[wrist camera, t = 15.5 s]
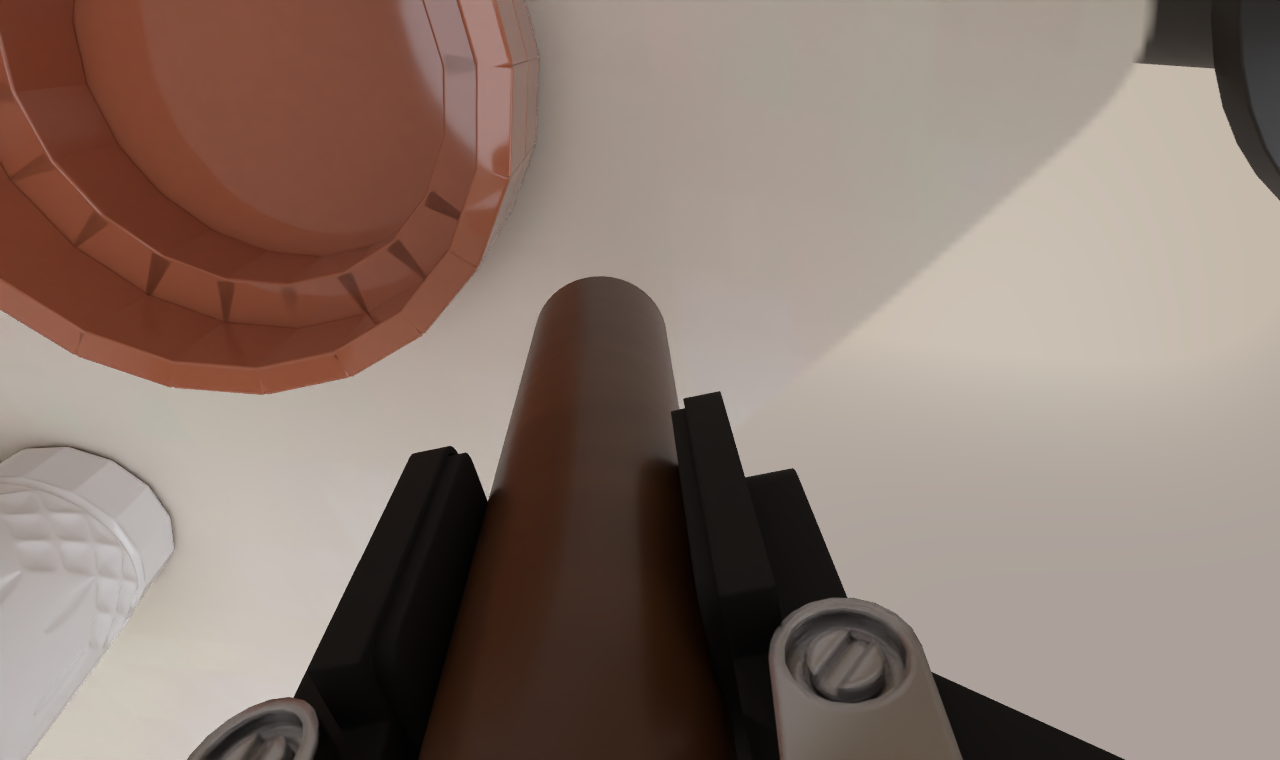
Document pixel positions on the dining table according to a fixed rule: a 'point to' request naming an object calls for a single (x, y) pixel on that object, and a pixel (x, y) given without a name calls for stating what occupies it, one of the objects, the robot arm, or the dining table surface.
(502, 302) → the dining table surface
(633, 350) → the dark brown cylinder
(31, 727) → the white cup
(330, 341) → the bowl
